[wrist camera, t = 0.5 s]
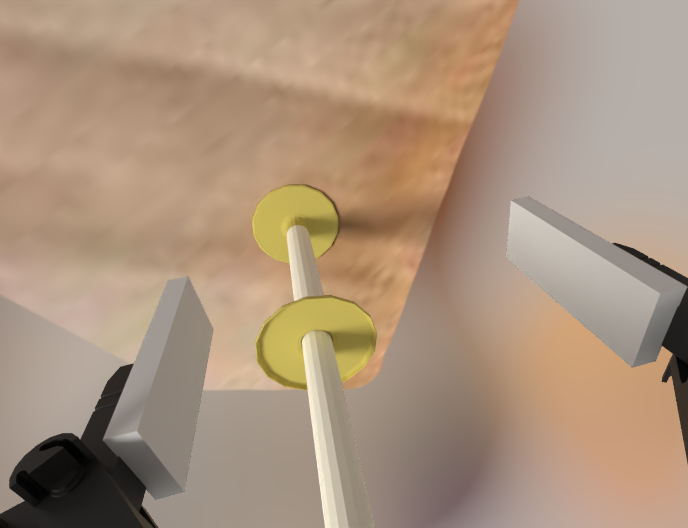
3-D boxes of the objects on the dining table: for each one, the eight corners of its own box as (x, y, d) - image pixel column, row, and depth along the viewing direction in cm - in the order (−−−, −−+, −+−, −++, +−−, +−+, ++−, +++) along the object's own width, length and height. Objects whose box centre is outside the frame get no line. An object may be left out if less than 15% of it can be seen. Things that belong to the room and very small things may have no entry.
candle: (331, 176, 40) (577, 649, 9) (343, 253, 46) (524, 723, 14) (241, 193, 39) (147, 791, 8) (264, 270, 45) (264, 812, 13)
